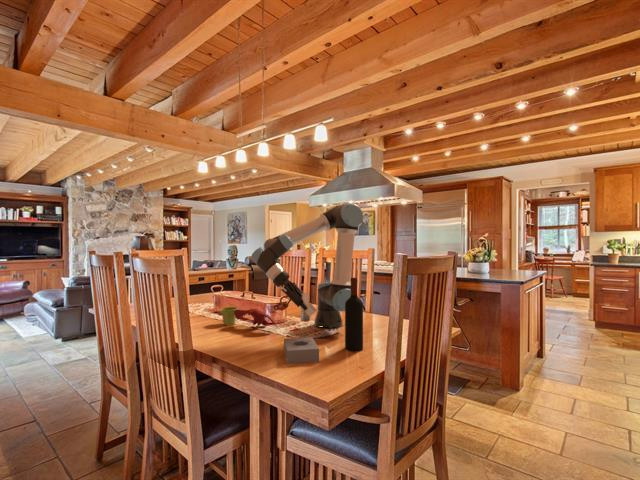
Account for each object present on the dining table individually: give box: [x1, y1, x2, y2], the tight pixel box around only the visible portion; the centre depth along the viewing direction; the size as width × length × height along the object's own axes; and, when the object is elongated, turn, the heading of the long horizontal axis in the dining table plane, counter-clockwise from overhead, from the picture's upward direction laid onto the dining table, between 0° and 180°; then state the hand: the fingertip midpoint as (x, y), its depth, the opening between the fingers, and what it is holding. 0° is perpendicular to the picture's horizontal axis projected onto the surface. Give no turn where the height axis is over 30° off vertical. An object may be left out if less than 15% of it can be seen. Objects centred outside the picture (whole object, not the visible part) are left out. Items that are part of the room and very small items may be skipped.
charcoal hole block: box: [283, 336, 320, 365], centre depth 138 cm, size 12×16×5 cm
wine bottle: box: [344, 277, 364, 353], centre depth 147 cm, size 8×8×30 cm
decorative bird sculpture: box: [234, 308, 277, 330], centre depth 181 cm, size 28×9×15 cm
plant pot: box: [219, 306, 239, 326], centre depth 190 cm, size 9×9×9 cm
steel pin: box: [300, 292, 311, 323], centre depth 155 cm, size 4×4×12 cm
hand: (313, 313), depth 154 cm, fingers closed on steel pin, 4 cm apart
